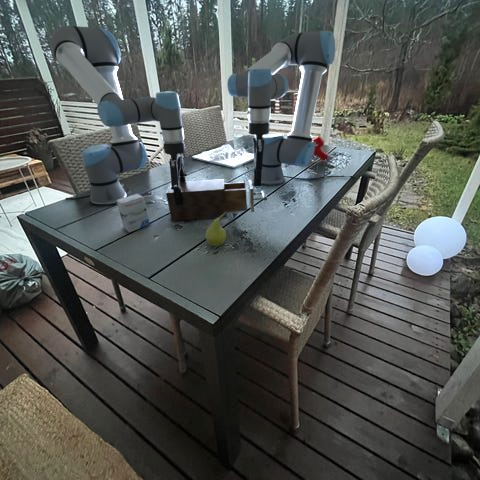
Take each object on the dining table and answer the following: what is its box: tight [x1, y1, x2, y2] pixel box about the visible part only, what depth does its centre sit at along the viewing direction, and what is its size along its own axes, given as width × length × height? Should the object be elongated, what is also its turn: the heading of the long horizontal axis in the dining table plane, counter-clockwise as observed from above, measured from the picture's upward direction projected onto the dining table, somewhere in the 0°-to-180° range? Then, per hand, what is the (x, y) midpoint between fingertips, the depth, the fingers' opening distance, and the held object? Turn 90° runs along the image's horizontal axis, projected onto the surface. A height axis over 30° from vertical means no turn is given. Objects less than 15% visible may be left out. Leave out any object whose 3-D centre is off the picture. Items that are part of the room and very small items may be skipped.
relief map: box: [192, 143, 254, 169], centre depth 179 cm, size 27×35×5 cm
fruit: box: [204, 211, 227, 248], centre depth 90 cm, size 7×8×12 cm
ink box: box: [116, 193, 151, 233], centre depth 100 cm, size 8×5×12 cm, turn 135°
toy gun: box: [312, 135, 329, 163], centre depth 172 cm, size 18×4×15 cm
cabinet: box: [165, 178, 228, 222], centre depth 109 cm, size 22×11×12 cm, turn 92°
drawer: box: [224, 179, 268, 213], centre depth 109 cm, size 26×10×10 cm, turn 92°
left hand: (181, 198), depth 108 cm, fingers closed on cabinet, 11 cm apart
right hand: (257, 185), depth 107 cm, fingers closed
